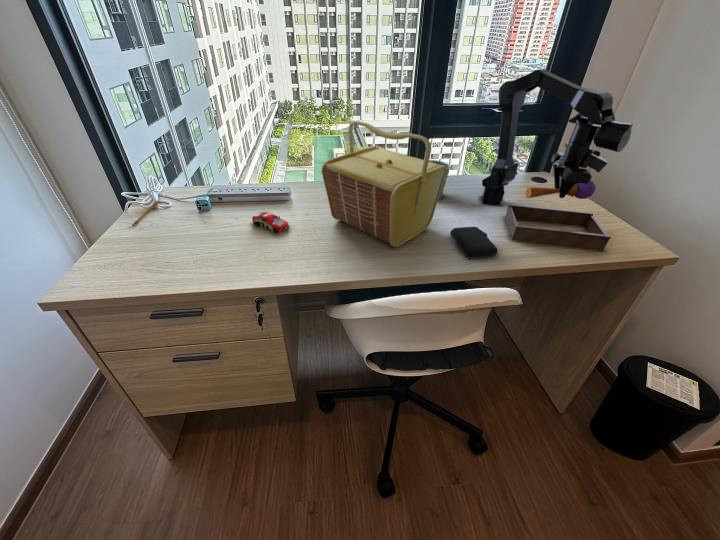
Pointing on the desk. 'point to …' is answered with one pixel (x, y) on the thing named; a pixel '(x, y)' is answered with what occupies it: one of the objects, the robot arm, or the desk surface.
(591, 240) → the wooden tray
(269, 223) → the race car
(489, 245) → the carrying case
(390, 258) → the desk surface
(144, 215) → the pencil
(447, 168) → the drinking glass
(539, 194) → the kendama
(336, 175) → the picnic basket
